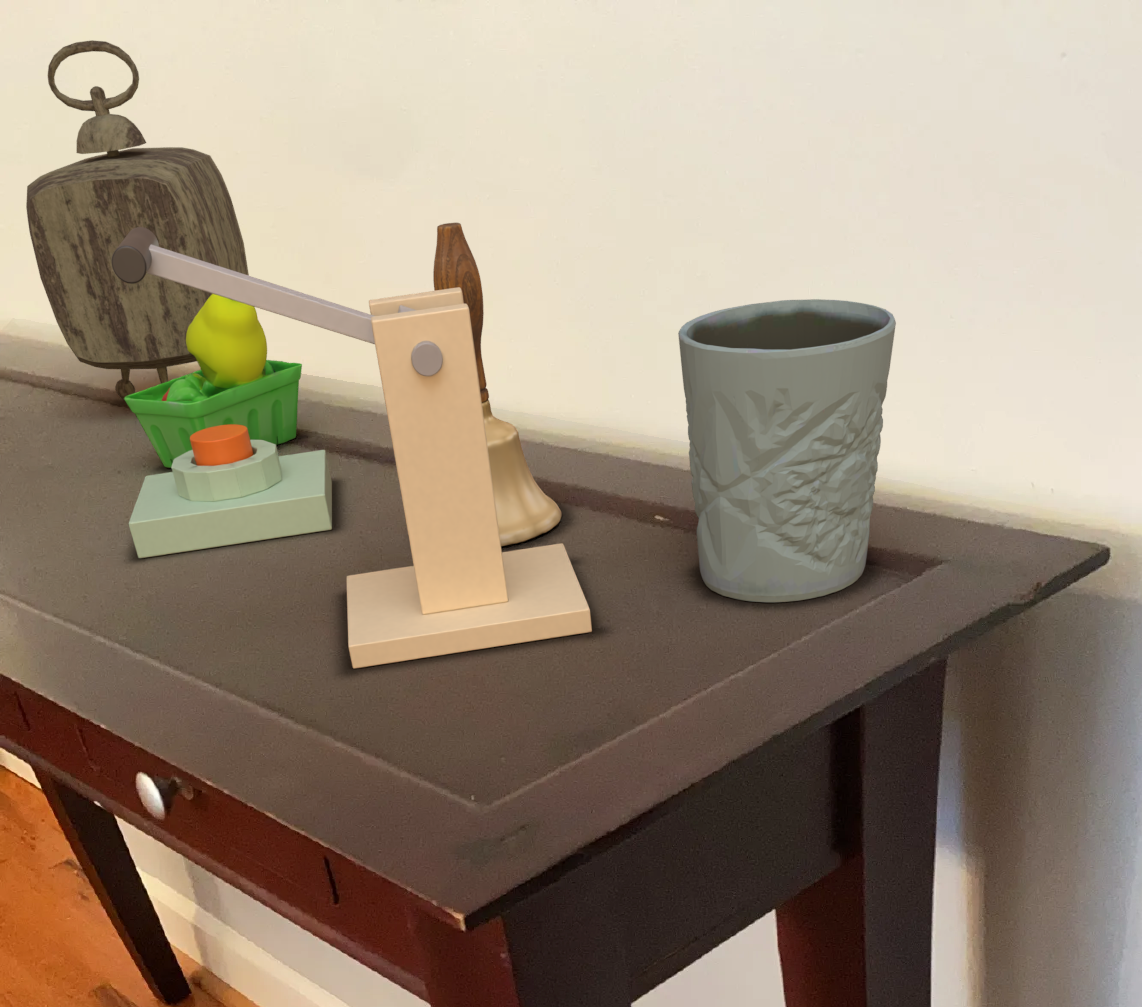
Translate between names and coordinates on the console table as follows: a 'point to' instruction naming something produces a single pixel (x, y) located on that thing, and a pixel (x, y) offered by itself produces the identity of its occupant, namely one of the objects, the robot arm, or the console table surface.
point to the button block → (232, 501)
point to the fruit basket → (222, 384)
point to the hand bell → (513, 484)
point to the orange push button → (221, 445)
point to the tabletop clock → (104, 218)
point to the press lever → (235, 286)
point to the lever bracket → (449, 508)
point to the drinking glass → (785, 442)
